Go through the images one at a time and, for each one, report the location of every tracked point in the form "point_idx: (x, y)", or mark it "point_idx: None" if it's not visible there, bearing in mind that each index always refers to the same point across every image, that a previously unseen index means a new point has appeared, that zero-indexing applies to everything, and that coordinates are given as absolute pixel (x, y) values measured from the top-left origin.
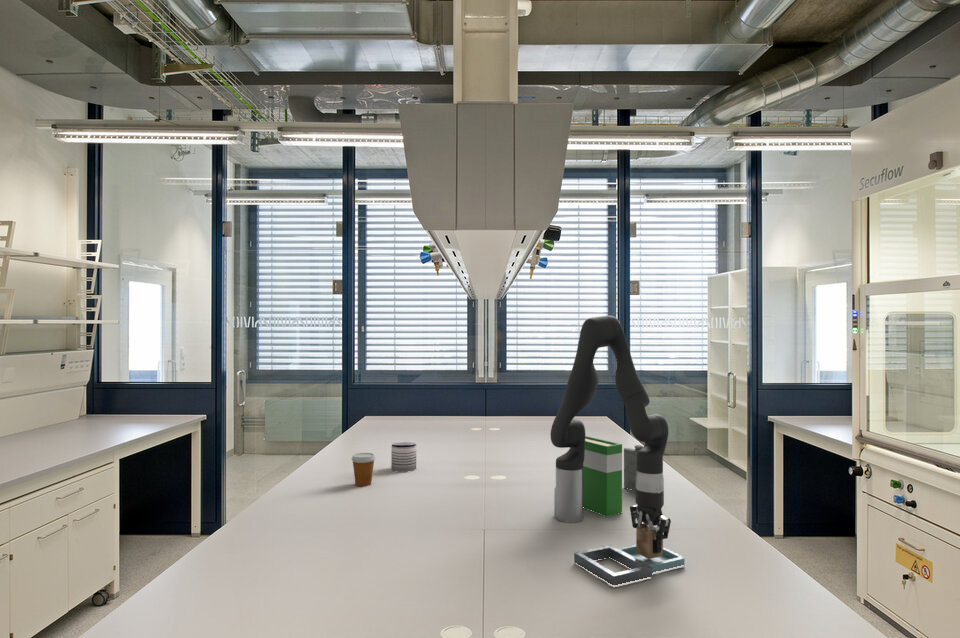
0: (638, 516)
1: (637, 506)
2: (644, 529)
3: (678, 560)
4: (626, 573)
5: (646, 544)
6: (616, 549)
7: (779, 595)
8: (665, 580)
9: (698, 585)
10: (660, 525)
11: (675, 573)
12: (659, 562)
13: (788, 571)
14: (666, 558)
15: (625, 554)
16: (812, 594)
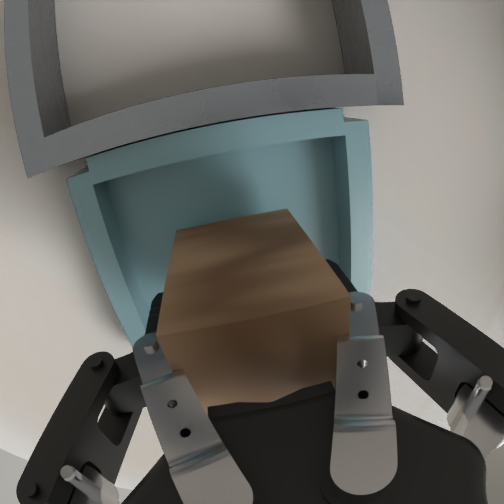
0: (440, 386)
1: (480, 470)
2: (266, 342)
3: None
4: (5, 14)
5: (193, 265)
6: (338, 95)
7: (7, 420)
8: (41, 218)
9: (12, 310)
10: (59, 455)
11: (102, 294)
12: (109, 259)
13: (124, 483)
14: None
15: (241, 101)
16: (29, 453)
